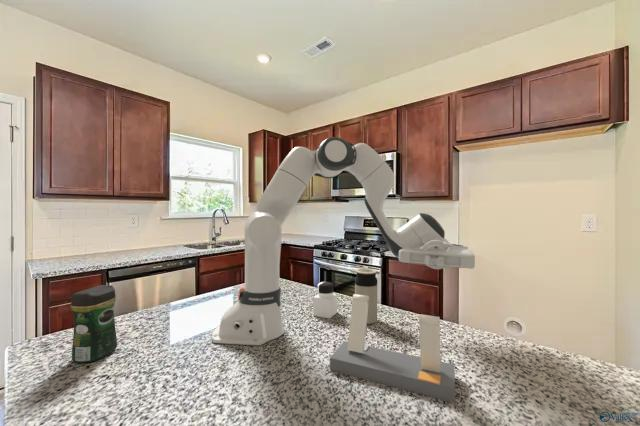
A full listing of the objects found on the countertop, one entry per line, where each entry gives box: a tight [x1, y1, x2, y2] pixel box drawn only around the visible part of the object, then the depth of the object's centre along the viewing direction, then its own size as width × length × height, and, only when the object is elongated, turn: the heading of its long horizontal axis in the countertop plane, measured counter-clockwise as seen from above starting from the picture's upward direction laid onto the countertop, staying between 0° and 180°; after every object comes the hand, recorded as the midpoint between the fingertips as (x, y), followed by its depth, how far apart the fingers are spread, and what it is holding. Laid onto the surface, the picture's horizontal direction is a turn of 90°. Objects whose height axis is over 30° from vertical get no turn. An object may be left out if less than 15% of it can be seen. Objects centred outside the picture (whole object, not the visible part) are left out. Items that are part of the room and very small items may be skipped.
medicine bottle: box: [312, 281, 338, 319], centre depth 108 cm, size 7×7×12 cm
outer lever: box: [418, 313, 441, 373], centre depth 63 cm, size 4×2×14 cm, turn 65°
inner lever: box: [347, 293, 369, 353], centre depth 75 cm, size 4×2×14 cm, turn 65°
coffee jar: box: [70, 284, 118, 364], centre depth 77 cm, size 10×8×19 cm
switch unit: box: [329, 340, 456, 404], centre depth 69 cm, size 28×10×3 cm, turn 65°
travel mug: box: [354, 267, 378, 325], centre depth 102 cm, size 8×8×18 cm
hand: (433, 262), depth 76 cm, fingers closed
